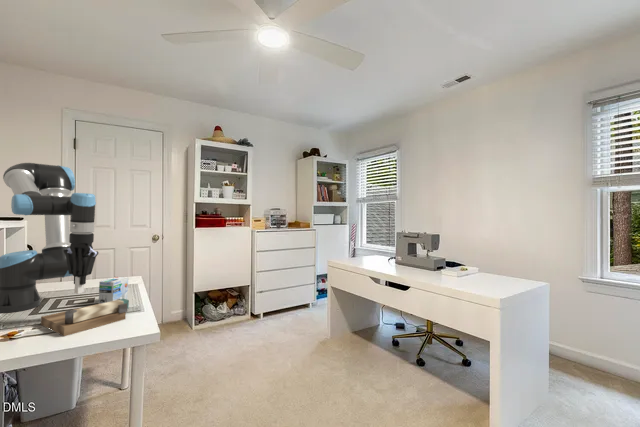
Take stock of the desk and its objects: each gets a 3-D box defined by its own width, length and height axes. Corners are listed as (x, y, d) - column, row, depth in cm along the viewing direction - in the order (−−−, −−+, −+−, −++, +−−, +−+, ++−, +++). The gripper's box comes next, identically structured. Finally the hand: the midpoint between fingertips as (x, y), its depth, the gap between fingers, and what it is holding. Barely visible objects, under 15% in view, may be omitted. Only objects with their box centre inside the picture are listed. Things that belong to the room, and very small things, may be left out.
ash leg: (67, 324, 106) (68, 313, 106) (62, 322, 108) (63, 311, 108) (128, 308, 124) (128, 299, 124) (123, 307, 126) (123, 297, 126)
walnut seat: (40, 324, 113) (41, 308, 113) (102, 310, 131) (103, 295, 131) (64, 336, 104) (65, 318, 104) (127, 318, 122) (127, 303, 122)
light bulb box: (112, 306, 136) (113, 282, 136) (97, 305, 136) (98, 281, 136) (128, 299, 146) (129, 277, 146) (114, 298, 147) (115, 276, 146)
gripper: (57, 232, 117) (55, 293, 118) (89, 235, 116) (86, 297, 117) (75, 230, 124) (72, 288, 125) (105, 233, 123) (102, 291, 124)
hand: (79, 292), depth 121 cm, fingers closed
